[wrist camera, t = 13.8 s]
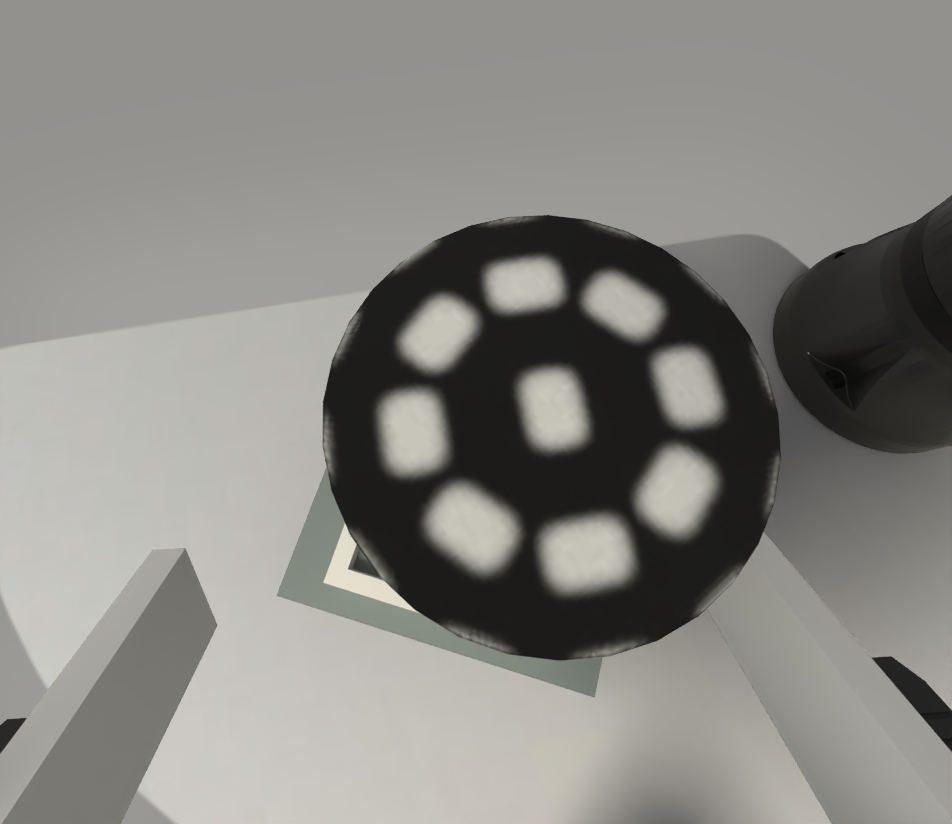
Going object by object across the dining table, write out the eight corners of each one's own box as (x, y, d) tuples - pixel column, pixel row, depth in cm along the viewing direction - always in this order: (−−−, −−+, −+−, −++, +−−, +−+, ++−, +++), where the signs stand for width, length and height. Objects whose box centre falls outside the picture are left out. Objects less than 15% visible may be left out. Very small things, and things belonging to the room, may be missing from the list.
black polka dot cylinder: (410, 448, 29) (304, 244, 9) (544, 426, 29) (701, 191, 10) (431, 593, 26) (346, 710, 7) (576, 565, 27) (852, 605, 8)
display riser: (632, 430, 33) (656, 413, 29) (581, 682, 28) (600, 704, 24) (383, 359, 34) (372, 333, 30) (295, 591, 29) (267, 597, 25)
